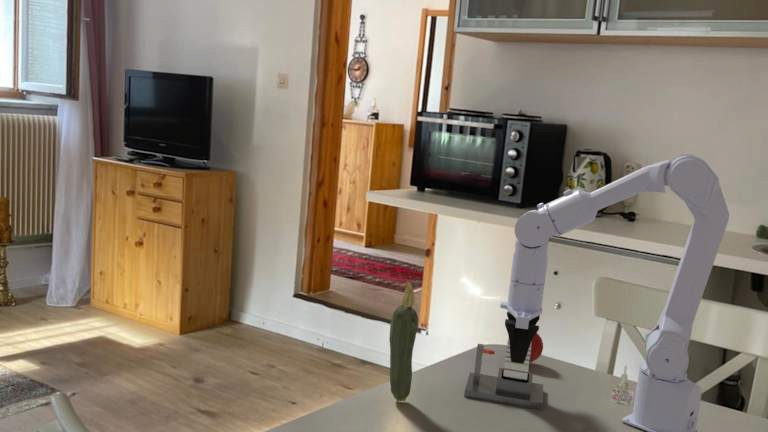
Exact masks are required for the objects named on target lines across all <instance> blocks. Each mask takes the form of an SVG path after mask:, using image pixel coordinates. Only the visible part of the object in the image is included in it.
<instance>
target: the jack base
mask: <svg viewBox="0 0 768 432" xmlns="http://www.w3.org/2000/svg"><path fill="white" fill-rule="evenodd" d="M484 346H485V345H484V344H483V343H477V347H476V353H475V354H476V355H475V363H474V371H473V372H469V375H468V378H467V380H466V381H467V382H466V386H465V389H464V394H463V397H466V398H471V399H476V400H482V401H488V402H495V403H498V404H506V405H510V406H517V407H522V408H529V409H535V410H539V411H542V410H543V404H544V384H543V383H536V382H533V372H529V371H528V376H527V380H524V379H517V378H511V377H505V376H503V374H504V367H499V369H498V373H497V376H494V375H488V374H483V373H482V374H481V369H482V361H483V354H485V355H486V354H488V355H495V352H496V351H495V350H493V349H488V348H484Z"/></svg>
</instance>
